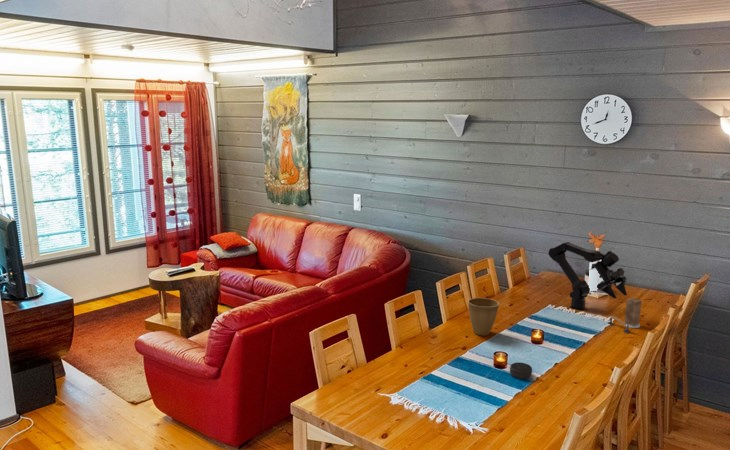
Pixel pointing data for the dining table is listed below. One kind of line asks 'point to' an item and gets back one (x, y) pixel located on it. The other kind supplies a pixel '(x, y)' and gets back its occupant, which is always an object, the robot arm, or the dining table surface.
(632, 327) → the pad
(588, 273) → the jar
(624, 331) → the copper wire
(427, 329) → the dining table surface
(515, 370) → the smart speaker
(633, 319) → the taupe upright block
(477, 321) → the plant pot
